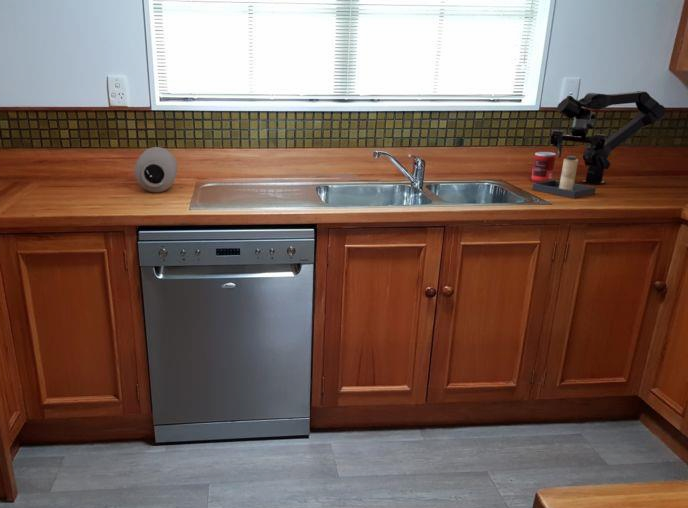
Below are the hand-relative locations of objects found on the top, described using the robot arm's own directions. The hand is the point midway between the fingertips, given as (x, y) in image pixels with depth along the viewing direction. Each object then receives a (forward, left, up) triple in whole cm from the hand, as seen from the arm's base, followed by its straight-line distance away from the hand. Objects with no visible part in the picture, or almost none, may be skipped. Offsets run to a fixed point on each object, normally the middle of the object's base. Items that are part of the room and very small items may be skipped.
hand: (573, 158), depth 226 cm
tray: (+5, +2, -12) cm, 13 cm away
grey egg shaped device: (+130, -80, -12) cm, 154 cm away
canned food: (-6, -15, -12) cm, 20 cm away
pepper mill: (+7, +4, -11) cm, 14 cm away
